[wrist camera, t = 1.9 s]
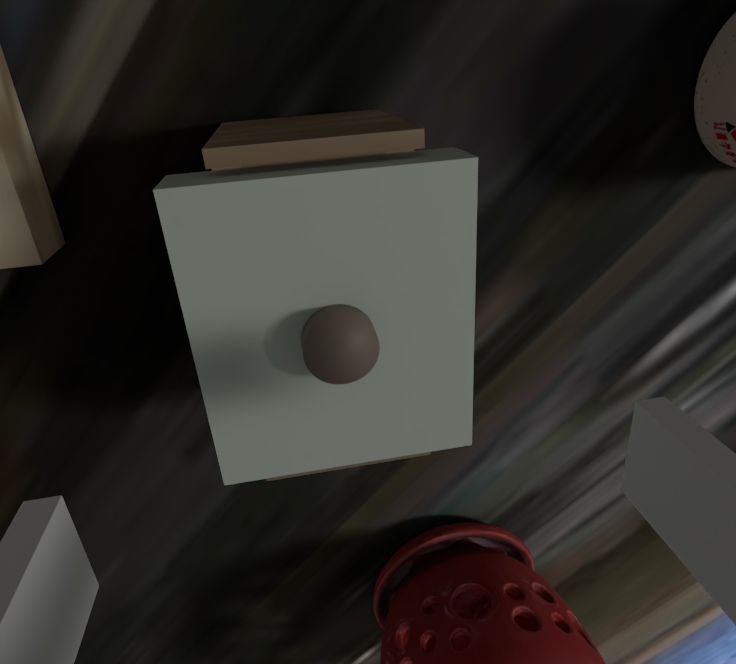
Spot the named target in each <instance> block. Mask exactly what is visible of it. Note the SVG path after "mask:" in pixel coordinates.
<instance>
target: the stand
mask: <svg viewBox="0 0 736 664" xmlns="http://www.w3.org/2000/svg"><path fill="white" fill-rule="evenodd" d="M64 244H66V243H65V240H64V237H63V234H62V231H61V228H60V225H59V222H58V219H57V216H56V213H55V210H54V207H53V204H52V201H51V197H50V194H49V191H48V188H47V185H46V182H45V179H44V176H43V173H42V170H41V167H40V164H39V161H38V158H37V155H36V152H35V149H34V146H33V143H32V140H31V136H30V133H29V130H28V127H27V124H26V121H25V118H24V115H23V112H22V109H21V106H20V103H19V100H18V97H17V94H16V91H15V88H14V85H13V82H12V78H11V75H10V72H9V69H8V66H7V63H6V60H5V57H4V54H3V51H2V48H1V45H0V269H6V268H15V267H24V266H33V265H41V264H43V263H44V262H45V261H46V260H48V259H49V258H50V257H51V256H52V255H53V254H54V253H55V252H57V251H58V250H59V249H60V248H61V247H62V246H63V245H64Z"/></svg>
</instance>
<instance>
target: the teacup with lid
mask: <svg viewBox="0 0 736 664" xmlns="http://www.w3.org/2000/svg"><path fill="white" fill-rule="evenodd" d="M694 115H695V122H696V126H697V130H698V133H699V136H700V138H701V140H702V142H703V144H704V145H705V147H706V148H707V149H708V151H709V152H710V153H711V154H712V155H713V156H714V157H715V158H717V159H718V160H719V161H721V162H723V163H725V164H727V165H729V166H732V167H736V12H735V13H734V14H733V15H732V16H731V17H730V18H729V20H728V21H727V22H726V23H725V24H724V26H723V27H722V28H721V30H720V31H719V33H718V34H717V36H716V37H715V39H714V41H713V42H712V44H711V46H710V48H709V50H708V52H707V54H706V56H705V58H704V61H703V63H702V66H701V69H700V72H699V75H698V79H697V84H696V89H695V97H694Z"/></svg>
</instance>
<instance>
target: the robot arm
mask: <svg viewBox="0 0 736 664" xmlns="http://www.w3.org/2000/svg"><path fill="white" fill-rule="evenodd" d="M620 490H621V491H622V492H623V493H624V494H625V496H626V497H627V498H628V499H629V500H630V502H631V503H632V504H633V505H634V506H635V507H636V509H637V510H638V511H639V512H640V513H641V514H642V516H643V517H644V518H645V519H646V520H647V521H648V523H649V524H650V525H651V526H652V527H653V529H654V530H655V531H656V532H657V533H658V534H659V536H660V537H661V538H662V539H663V540H664V541H665V543H666V544H667V545H668V546H669V547H670V549H671V550H672V551H673V552H674V553H675V554H676V556H677V557H678V558H679V559H680V560H681V561H682V563H683V564H684V565H685V566H686V567H687V568H688V570H689V571H690V572H691V573H692V574H693V576H694V577H695V578H696V579H697V580H698V581H699V583H700V584H701V585H702V586H703V587H704V588H705V590H706V591H707V592H708V593H709V594H710V596H711V597H712V598H713V599H714V600H715V601H716V603H717V604H718V605H719V606H720V607H721V608H722V610H723V611H724V612H725V613H726V614H727V615H728V617H729V618H730V619H731V620H732V621H733V623H734V624H735V625H736V454H735V453H734V452H732V451H731V450H730V449H729V448H728V447H726V446H725V445H724V444H723V443H721V442H720V441H719V440H718V439H716V438H715V437H714V436H713V435H712V434H710V433H709V432H708V431H707V430H705V429H704V428H703V427H702V426H700V425H699V424H698V423H697V422H695V421H694V420H693V419H692V418H691V417H689V416H688V415H687V414H686V413H684V412H683V411H682V410H681V409H679V408H678V407H677V406H676V405H675V404H673V403H672V402H671V401H670V400H668V399H667V398H666V397H660V398H654V399H648V400H642V401H636V403H635V408H634V414H633V420H632V426H631V431H630V437H629V443H628V449H627V454H626V460H625V466H624V472H623V477H622V483H621V489H620ZM98 587H99V584H98V582H97V580H96V577H95V575H94V572H93V570H92V568H91V565H90V563H89V560H88V558H87V555H86V553H85V551H84V548H83V546H82V543H81V541H80V539H79V536H78V534H77V531H76V529H75V526H74V524H73V522H72V519H71V517H70V514H69V512H68V509H67V507H66V505H65V502H64V500H63V497H62V495H61V496H55V497H49V498H43V499H37V500H31V501H25V502H23V503H22V505H21V507H20V508H19V510H18V512H17V514H16V516H15V517H14V519H13V521H12V523H11V524H10V526H9V528H8V530H7V532H6V533H5V535H4V537H3V539H2V541H1V542H0V664H74V662H75V659H76V655H77V652H78V649H79V646H80V643H81V640H82V637H83V634H84V631H85V628H86V624H87V621H88V618H89V615H90V612H91V609H92V606H93V603H94V600H95V596H96V593H97V590H98Z"/></svg>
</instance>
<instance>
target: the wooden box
mask: <svg viewBox="0 0 736 664" xmlns="http://www.w3.org/2000/svg"><path fill="white" fill-rule="evenodd" d="M420 148H425V140H424V128H422V127H419V126H417V125H414V124H412V123H409V122H407V121H404V120H402V119H400V118H397V117H395V116H392V115H390V114H387V113H385V112H382V111H380V110H377V109H375V110H363V111H352V112H341V113H329V114H318V115H306V116H295V117H283V118H272V119H261V120H249V121H238V122H226V123H221V125H220V126H219V127H218V129H217V130H216V131H215V133H214V134H213V135H212V136H211V138H210V139H209V140H208V142H207V143H206V144H205V145H204V147H203V148H202V154H203V159H204V164H205V169H212V171H215V170H226V169H236V168H246V167H256V166H267V165H277V164H287V163H298V162H308V161H318V160H328V159H339V158H349V157H359V156H369V155H380V154H390V153H400V152H411V151H414V149H420ZM429 454H431V452H425V453H419V454H413V455H407V456H401V457H395V458H389V459H382V460H376V461H370V462H364V463H358V464H352V465H346V466H340V467H334V468H327V469H321V470H315V471H309V472H303V473H297V474H291V475H285V476H278V477H272V478H266V480H267V481H271V480H277V479H283V478H289V477H295V476H301V475H307V474H313V473H319V472H325V471H332V470H338V469H344V468H350V467H356V466H362V465H368V464H374V463H380V462H386V461H392V460H399V459H405V458H411V457H417V456H423V455H429Z"/></svg>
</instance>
